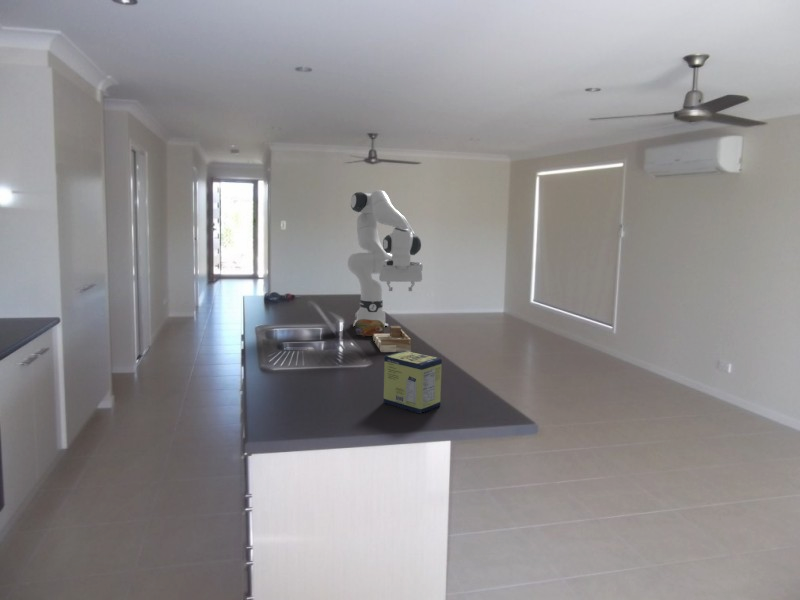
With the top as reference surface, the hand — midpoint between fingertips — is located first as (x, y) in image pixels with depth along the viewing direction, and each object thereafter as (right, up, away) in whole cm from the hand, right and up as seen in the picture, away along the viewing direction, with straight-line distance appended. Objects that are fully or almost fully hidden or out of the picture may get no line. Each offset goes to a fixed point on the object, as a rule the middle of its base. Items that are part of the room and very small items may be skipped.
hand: (400, 291), depth 278 cm
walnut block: (-2, -21, -5) cm, 22 cm away
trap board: (-4, -25, -11) cm, 28 cm away
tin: (-15, -22, +8) cm, 28 cm away
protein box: (+3, -38, -92) cm, 99 cm away
